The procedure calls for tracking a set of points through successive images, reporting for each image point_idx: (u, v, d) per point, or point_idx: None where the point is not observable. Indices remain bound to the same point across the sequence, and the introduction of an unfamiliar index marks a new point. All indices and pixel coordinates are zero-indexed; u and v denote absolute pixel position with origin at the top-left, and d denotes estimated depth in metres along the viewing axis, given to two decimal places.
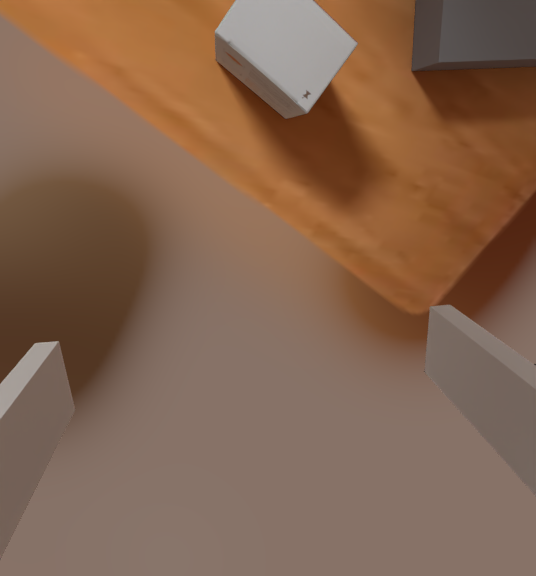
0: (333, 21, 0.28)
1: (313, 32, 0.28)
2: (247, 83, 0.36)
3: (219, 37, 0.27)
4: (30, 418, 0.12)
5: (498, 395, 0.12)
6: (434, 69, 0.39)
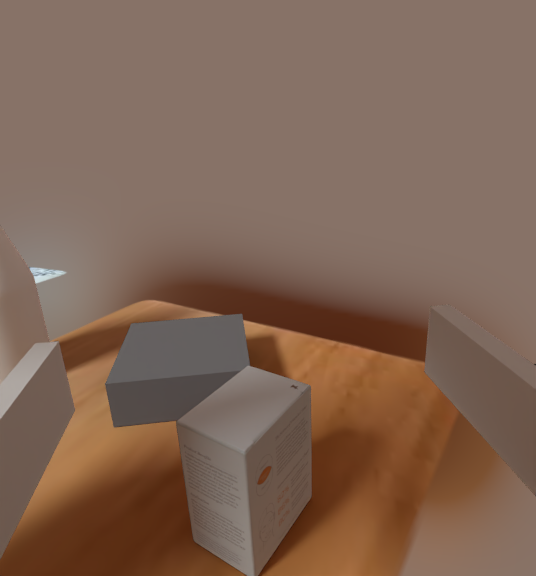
0: (231, 378, 0.31)
1: (241, 387, 0.30)
2: (281, 521, 0.29)
3: (249, 451, 0.24)
4: (30, 418, 0.12)
5: (498, 395, 0.12)
6: None
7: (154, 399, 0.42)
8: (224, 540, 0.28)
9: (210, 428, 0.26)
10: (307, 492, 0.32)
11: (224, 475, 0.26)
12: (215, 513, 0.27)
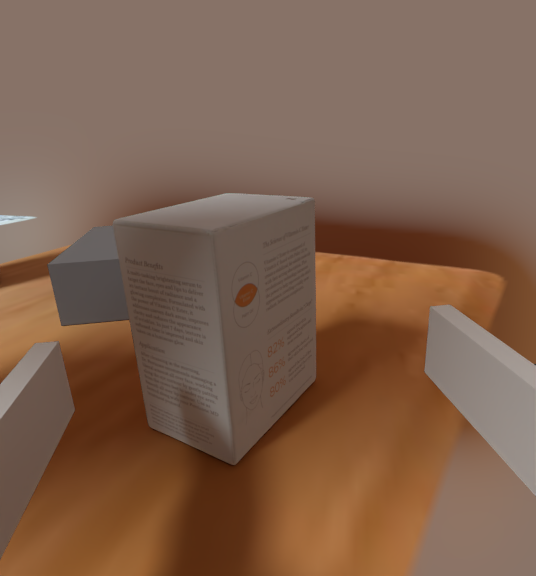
0: None
1: (215, 200, 0.21)
2: (273, 390, 0.20)
3: (219, 234, 0.15)
4: (30, 418, 0.12)
5: (498, 395, 0.12)
6: None
7: (112, 287, 0.33)
8: (188, 409, 0.19)
9: (162, 220, 0.17)
10: (310, 367, 0.23)
11: (184, 288, 0.16)
12: (173, 365, 0.18)
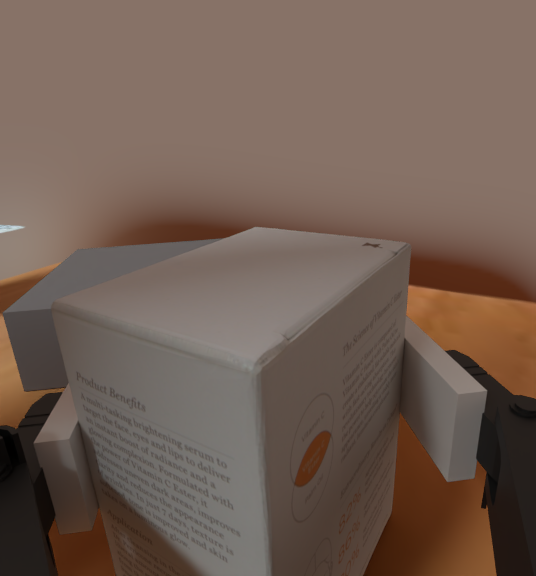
0: None
1: (241, 248, 0.12)
2: None
3: (271, 364, 0.07)
4: None
5: (412, 378, 0.13)
6: None
7: None
8: None
9: (144, 311, 0.08)
10: (387, 503, 0.15)
11: (189, 457, 0.08)
12: (169, 568, 0.10)
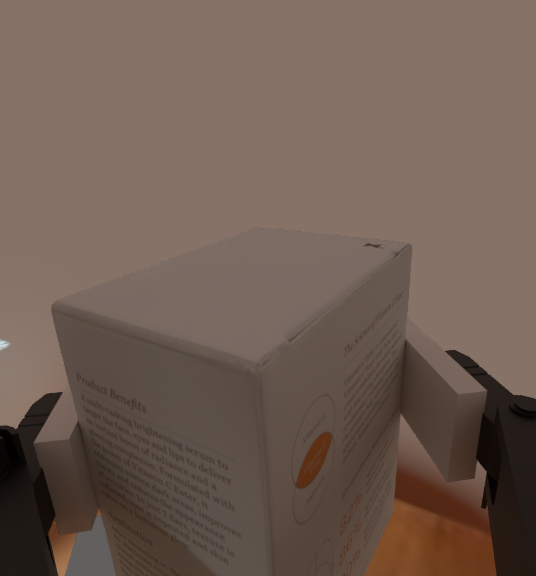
0: None
1: (242, 248, 0.12)
2: None
3: (272, 366, 0.07)
4: None
5: (412, 378, 0.13)
6: None
7: None
8: None
9: (144, 312, 0.08)
10: (388, 504, 0.15)
11: (189, 459, 0.08)
12: (170, 570, 0.10)
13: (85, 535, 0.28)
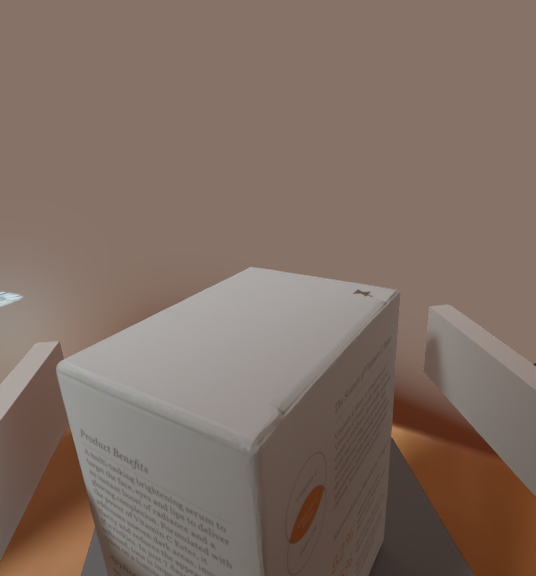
0: None
1: (237, 296, 0.13)
2: None
3: (267, 442, 0.07)
4: (31, 418, 0.12)
5: (497, 395, 0.12)
6: None
7: None
8: None
9: (146, 378, 0.09)
10: (379, 533, 0.15)
11: (190, 518, 0.08)
12: None
13: None
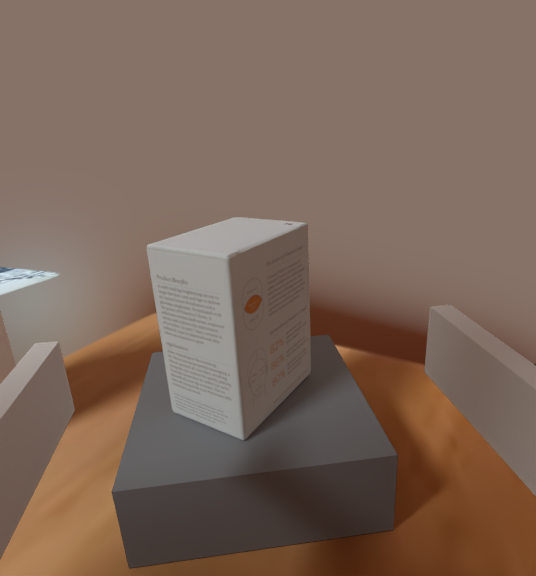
0: None
1: (226, 225, 0.25)
2: (275, 380, 0.25)
3: (233, 258, 0.20)
4: (30, 418, 0.12)
5: (498, 395, 0.12)
6: None
7: (209, 515, 0.21)
8: (207, 395, 0.23)
9: (186, 246, 0.21)
10: (305, 362, 0.28)
11: (204, 299, 0.21)
12: (195, 360, 0.23)
13: (157, 360, 0.32)
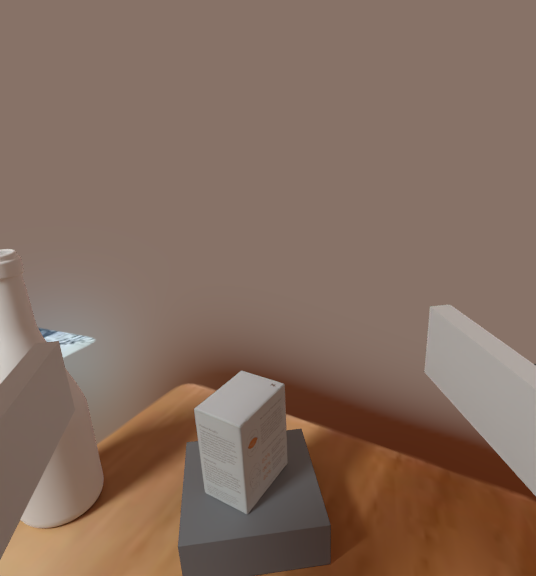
0: None
1: (237, 385, 0.44)
2: (265, 476, 0.43)
3: (242, 426, 0.38)
4: (30, 418, 0.12)
5: (498, 395, 0.12)
6: None
7: (228, 558, 0.40)
8: (226, 488, 0.42)
9: (217, 412, 0.40)
10: (284, 459, 0.46)
11: (227, 442, 0.39)
12: (220, 469, 0.41)
13: (191, 450, 0.50)
